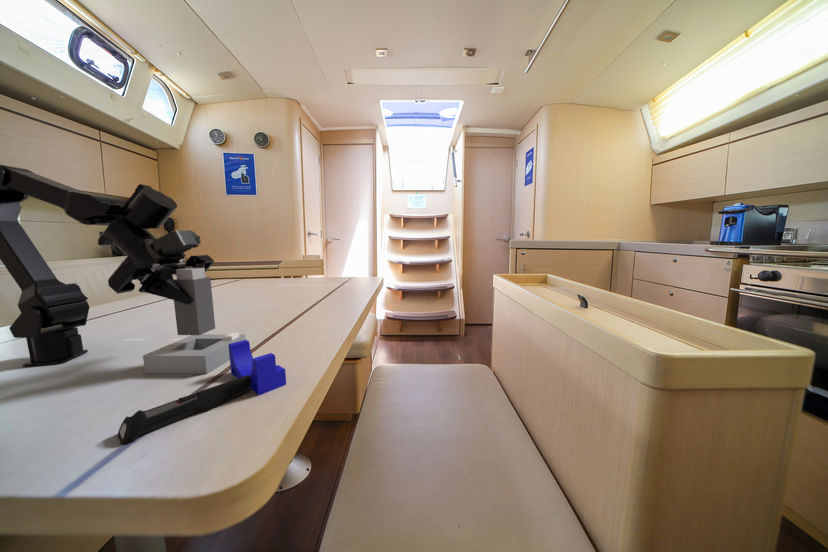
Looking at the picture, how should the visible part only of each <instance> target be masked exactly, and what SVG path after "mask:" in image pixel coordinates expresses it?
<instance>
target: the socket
mask: <svg viewBox="0 0 828 552" xmlns="http://www.w3.org/2000/svg"><path fill="white" fill-rule="evenodd" d="M243 340H247V338H246V334H240V332H231V333H228V334H226V333H225V334H223V333H222V334H220V333H219V334H217V333H216V334H213V333H212V334H211V333H210V334H207V333H203V334H201V335H188V336H187V337H184V338H182V339H180V340H177V341H174V342H172V343H170V344H167V345H165V346H162V347H160V348H158V349H156V350H155V349H154V350H153V351H150V352H148V353H146V354H143V355H142V359H143V365H144V372H145V374H176V375H177V374H180V375H182V374H183V375H184V374H185V375H187V374H189V375H191V374H193V375H194V374H195V375H196V374H197V375H201V374H202V375H204V374H205V375H208V374H210V372H212V371H214V370H216V369H218V367H221V366H222V365H224V364H226V363H227V362H228V361H230V356H229V346H228V344H231V343H235V342H239V341H243Z"/></svg>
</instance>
